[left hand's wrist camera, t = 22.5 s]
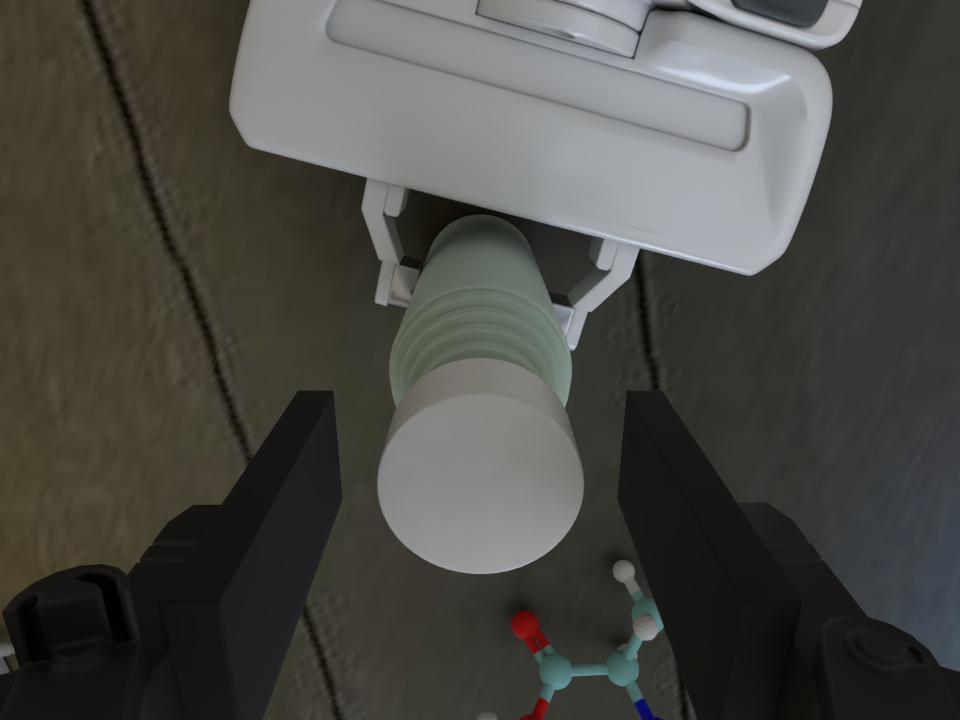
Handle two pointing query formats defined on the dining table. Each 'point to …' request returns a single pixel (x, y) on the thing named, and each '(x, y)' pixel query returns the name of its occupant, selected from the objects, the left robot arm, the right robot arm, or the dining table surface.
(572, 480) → the cap
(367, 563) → the dining table surface
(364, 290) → the dining table surface
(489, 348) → the bottle
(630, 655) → the molecular model
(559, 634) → the dining table surface
